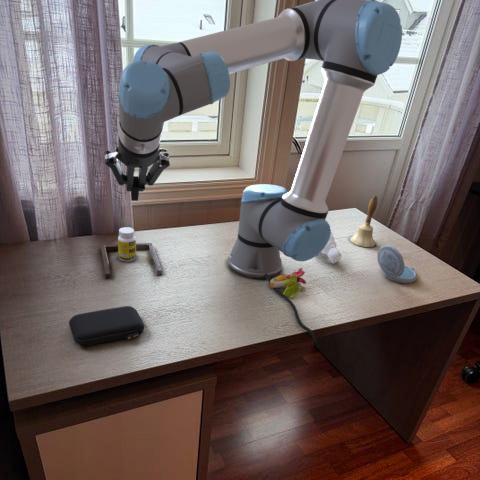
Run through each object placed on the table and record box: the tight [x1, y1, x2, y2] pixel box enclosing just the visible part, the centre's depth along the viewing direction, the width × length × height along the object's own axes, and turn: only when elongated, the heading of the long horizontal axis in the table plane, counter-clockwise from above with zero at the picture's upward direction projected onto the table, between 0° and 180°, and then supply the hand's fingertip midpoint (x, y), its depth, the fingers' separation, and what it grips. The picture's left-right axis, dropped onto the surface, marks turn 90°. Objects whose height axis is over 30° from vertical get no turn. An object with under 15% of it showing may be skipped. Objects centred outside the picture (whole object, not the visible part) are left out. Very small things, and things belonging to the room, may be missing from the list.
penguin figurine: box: [320, 231, 342, 265], centre depth 135 cm, size 6×8×12 cm
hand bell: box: [349, 195, 378, 248], centre depth 146 cm, size 8×8×16 cm
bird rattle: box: [269, 267, 307, 299], centre depth 119 cm, size 6×11×9 cm
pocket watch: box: [376, 244, 418, 284], centre depth 130 cm, size 10×11×15 cm
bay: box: [100, 242, 163, 280], centre depth 122 cm, size 16×14×2 cm
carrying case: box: [68, 305, 146, 346], centre depth 95 cm, size 11×3×15 cm
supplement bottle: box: [117, 226, 137, 263], centre depth 121 cm, size 5×5×8 cm
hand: (134, 195), depth 104 cm, fingers closed
